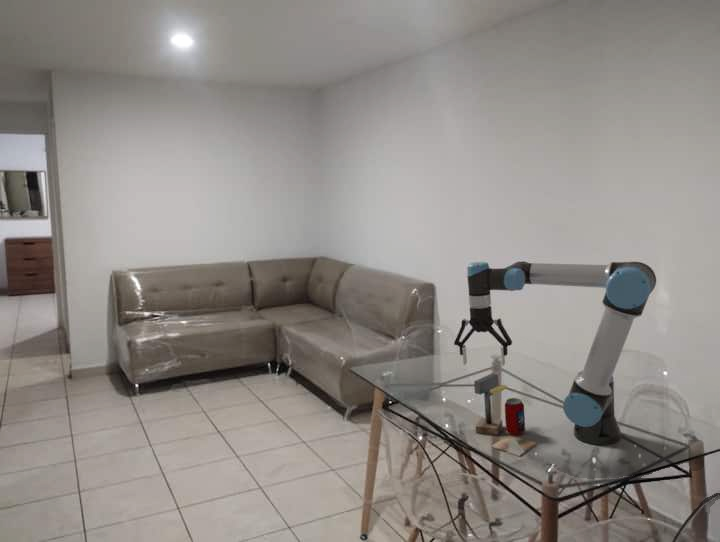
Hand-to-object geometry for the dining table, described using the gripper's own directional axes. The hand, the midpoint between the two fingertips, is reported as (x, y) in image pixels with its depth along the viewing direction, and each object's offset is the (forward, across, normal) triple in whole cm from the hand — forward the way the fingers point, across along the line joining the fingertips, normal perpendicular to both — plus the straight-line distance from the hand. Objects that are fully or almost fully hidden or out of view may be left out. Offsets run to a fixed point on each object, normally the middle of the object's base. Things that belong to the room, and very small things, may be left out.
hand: (484, 364), depth 208 cm
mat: (+27, -10, +8) cm, 30 cm away
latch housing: (+26, 0, -4) cm, 27 cm away
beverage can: (+27, -9, -3) cm, 29 cm away
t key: (+24, -1, -6) cm, 25 cm away
